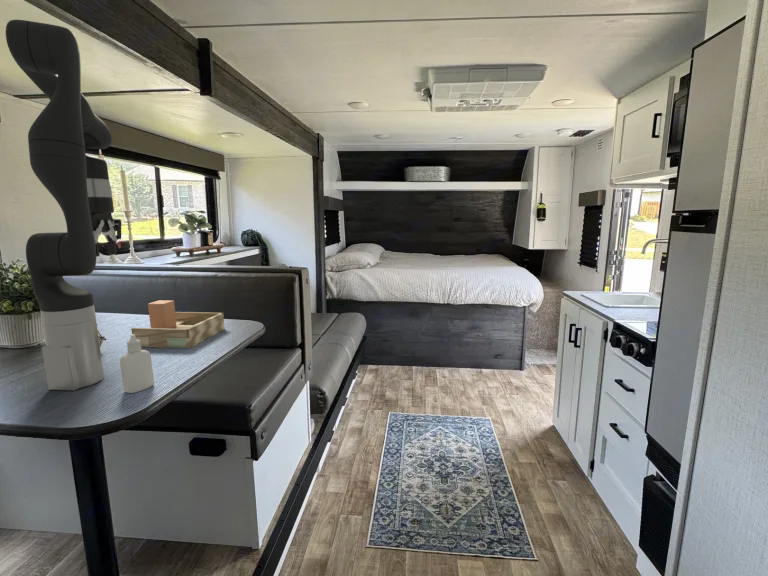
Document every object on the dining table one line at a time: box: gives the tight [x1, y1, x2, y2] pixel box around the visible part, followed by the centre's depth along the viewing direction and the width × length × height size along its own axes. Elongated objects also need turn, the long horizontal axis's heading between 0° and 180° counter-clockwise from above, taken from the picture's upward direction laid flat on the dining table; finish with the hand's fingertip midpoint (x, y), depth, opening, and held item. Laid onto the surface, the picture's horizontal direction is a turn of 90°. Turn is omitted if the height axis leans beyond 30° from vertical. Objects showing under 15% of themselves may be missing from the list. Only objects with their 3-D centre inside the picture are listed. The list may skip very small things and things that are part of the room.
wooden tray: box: [131, 311, 225, 350], centre depth 122 cm, size 20×17×6 cm
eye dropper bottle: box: [119, 334, 155, 394], centre depth 85 cm, size 4×6×12 cm
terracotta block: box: [147, 299, 177, 329], centre depth 122 cm, size 5×5×8 cm
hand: (104, 255), depth 116 cm, fingers open, 5 cm apart
